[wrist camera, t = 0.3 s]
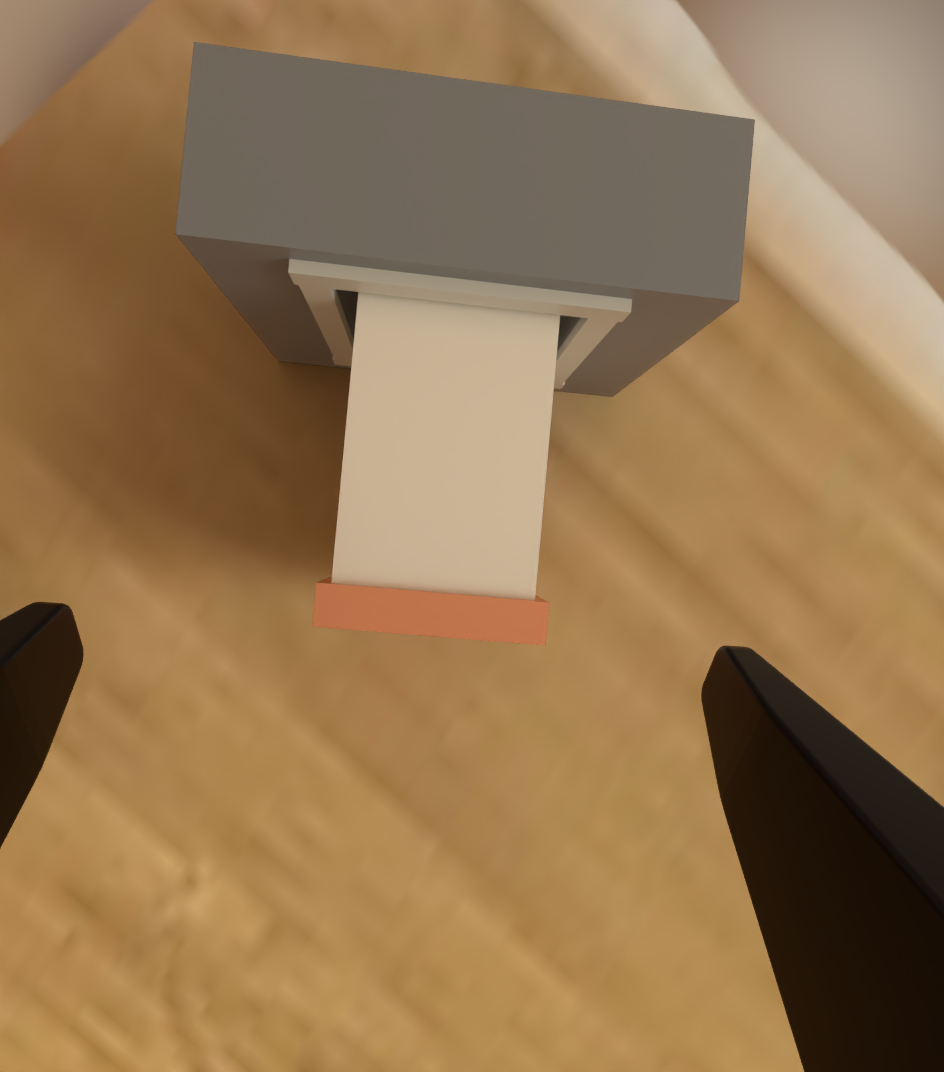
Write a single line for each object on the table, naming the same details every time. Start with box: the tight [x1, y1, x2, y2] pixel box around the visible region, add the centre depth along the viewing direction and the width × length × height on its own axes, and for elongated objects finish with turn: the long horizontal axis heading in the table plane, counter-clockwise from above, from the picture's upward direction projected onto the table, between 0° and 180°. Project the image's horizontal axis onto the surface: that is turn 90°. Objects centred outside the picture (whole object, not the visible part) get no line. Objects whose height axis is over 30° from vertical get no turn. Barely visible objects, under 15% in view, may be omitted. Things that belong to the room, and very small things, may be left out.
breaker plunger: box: [312, 292, 560, 645], centre depth 19 cm, size 10×5×6 cm, turn 175°
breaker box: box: [175, 42, 755, 397], centre depth 19 cm, size 4×12×10 cm, turn 85°
